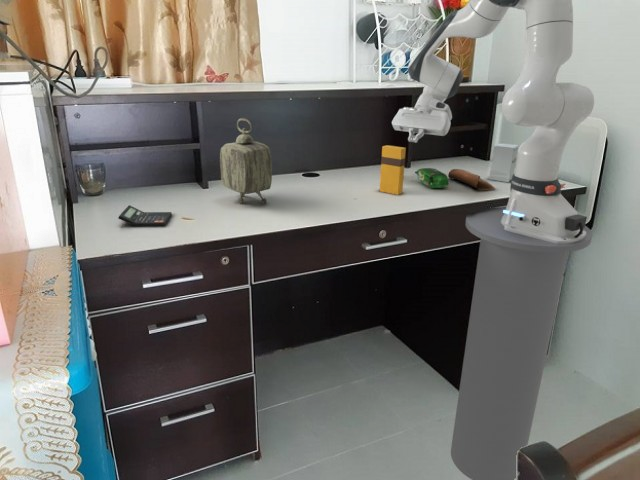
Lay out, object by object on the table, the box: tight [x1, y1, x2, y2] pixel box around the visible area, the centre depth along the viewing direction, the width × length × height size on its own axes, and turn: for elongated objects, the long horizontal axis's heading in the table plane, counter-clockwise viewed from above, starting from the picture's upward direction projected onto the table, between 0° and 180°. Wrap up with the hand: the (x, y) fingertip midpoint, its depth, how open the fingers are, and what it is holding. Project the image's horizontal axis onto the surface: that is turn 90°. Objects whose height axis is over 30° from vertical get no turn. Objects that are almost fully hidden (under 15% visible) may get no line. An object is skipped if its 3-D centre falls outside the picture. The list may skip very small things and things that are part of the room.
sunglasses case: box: [447, 168, 496, 192], centre depth 179 cm, size 18×7×7 cm, turn 19°
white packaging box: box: [488, 143, 520, 183], centre depth 185 cm, size 7×7×13 cm
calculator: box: [117, 204, 173, 227], centre depth 136 cm, size 9×12×3 cm
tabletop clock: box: [219, 117, 273, 204], centre depth 150 cm, size 14×9×25 cm, turn 45°
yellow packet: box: [379, 144, 407, 195], centre depth 165 cm, size 3×7×15 cm, turn 53°
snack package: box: [414, 167, 449, 189], centre depth 177 cm, size 7×16×5 cm, turn 12°
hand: (412, 141), depth 172 cm, fingers closed
